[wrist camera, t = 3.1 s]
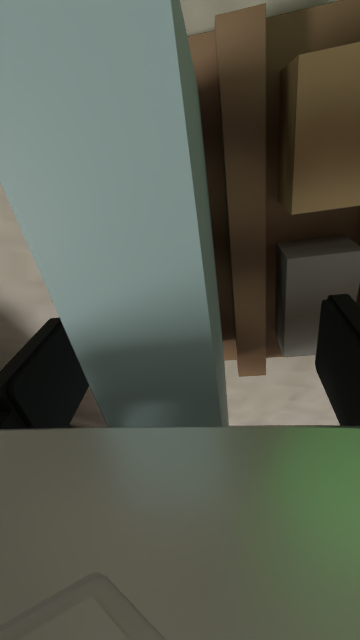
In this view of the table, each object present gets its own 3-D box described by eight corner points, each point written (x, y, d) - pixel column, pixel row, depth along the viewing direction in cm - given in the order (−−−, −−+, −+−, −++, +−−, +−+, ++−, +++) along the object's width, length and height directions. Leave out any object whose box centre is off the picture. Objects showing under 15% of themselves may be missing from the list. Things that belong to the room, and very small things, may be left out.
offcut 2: (276, 242, 19) (287, 259, 16) (343, 234, 18) (365, 250, 15) (274, 332, 22) (283, 357, 20) (330, 327, 22) (346, 353, 19)
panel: (141, 100, 15) (-87, -17, 3) (198, 88, 15) (159, -92, 3) (185, 343, 24) (162, 552, 12) (222, 341, 23) (238, 555, 11)
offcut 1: (280, 71, 14) (298, 54, 11) (368, 52, 14) (413, 30, 11) (277, 201, 17) (291, 214, 14) (349, 190, 17) (379, 202, 14)
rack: (91, 65, 15) (68, 51, 13) (427, -14, 13) (480, -50, 10) (161, 357, 26) (156, 381, 23) (355, 343, 23) (373, 369, 21)
